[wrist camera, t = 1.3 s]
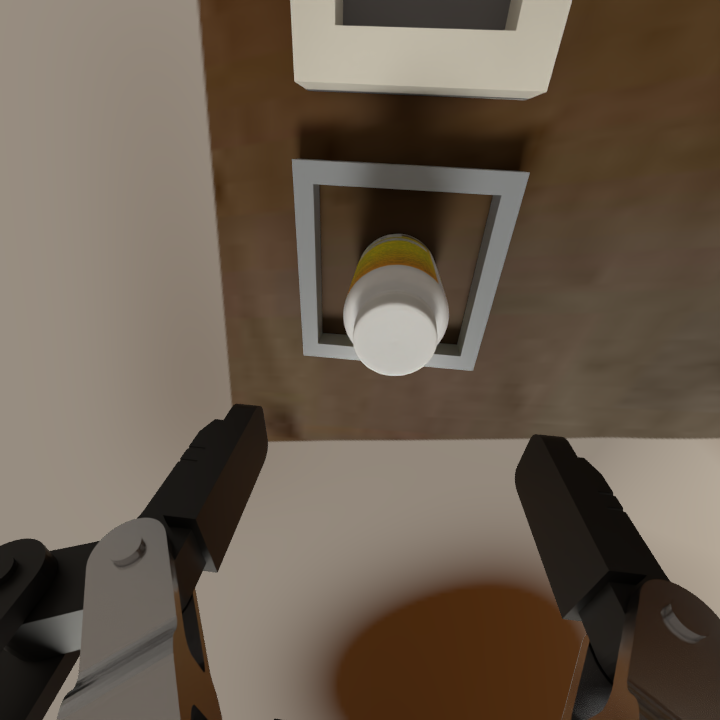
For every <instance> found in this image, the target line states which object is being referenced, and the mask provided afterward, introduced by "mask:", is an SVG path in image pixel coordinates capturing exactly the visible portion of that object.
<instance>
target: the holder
mask: <svg viewBox="0 0 720 720" xmlns="http://www.w3.org/2000/svg"><path fill="white" fill-rule="evenodd" d="M290 2H291V22H292V42H293V62H294V81H295V82H296V83H298V84H299V85H301V86H302V87H304V88H305V89H307V90H308V91H325V92H348V93H372V94H395V95H418V96H441V97H464V98H488V99H511V100H527V99H530V98H532V97H535V96H537V95H540V94H542V93H545V92H547V89H548V85H549V81H550V78H551V74H552V71H553V67H554V63H555V60H556V56H557V53H558V49H559V46H560V42H561V38H562V35H563V31H564V28H565V24H566V20H567V17H568V13H569V10H570V6H571V3H572V0H290Z"/></svg>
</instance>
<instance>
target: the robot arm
mask: <svg viewBox="0 0 720 720" xmlns="http://www.w3.org/2000/svg"><path fill="white" fill-rule="evenodd" d="M267 449H268V439H267V433H266V426H265V420H264V414H263V409H262V407H261V406H254V405H244V404H235V405H233V407H232V408H231V409H230V411H229V413H228V414H227V416H226V417H225V419H224V420H218V419H215V420H214V421H212V422H211V423H210V424H208V425H207V426H206V427H204V428H203V429H202V430H200V431H199V433H198V434H197V436H196V437H195V439H194V440H193V442H192V443H191V444H190V446H189V449H187V450H186V451H185V453H184V454H183V455H182V457H181V458H180V459H181V460H180V462H178V463H177V464H176V466H175V467H174V468H173V470H172V471H171V473H170V474H169V476H168V477H167V478H166V480H165V481H164V483H163V484H162V486H161V487H160V488H159V490H158V491H157V492H156V494H155V495H154V497H153V498H152V500H151V501H150V502H149V504H148V505H147V507H146V508H145V510H144V511H143V512H142V513H141V515H140V516H139V517H138V518H137V519H134V520H131V521H128V522H125V523H123V524H121V525H119V526H118V527H116V528H114V529H113V530H112V531H110V532H109V533H108V534H107V535H106V536H104V537H103V538H102V539H101V541H97V542H93V543H88V544H84V545H78V546H74V547H68V548H63V549H58V550H53V551H49V550H48V549H47V548H46V547H45V546H44V545H43V544H42V543H41V542H40V541H38V540H35V539H20V540H15V541H12V542H9V543H6V544H4V545H2V546H0V720H42V719H43V718H44V716H45V714H46V713H47V711H48V709H49V707H50V706H51V704H52V702H53V701H54V699H55V697H56V695H57V693H58V692H59V690H60V689H61V687H62V685H63V683H64V682H65V680H66V678H67V676H68V675H69V673H70V671H71V670H72V668H73V666H74V664H75V663H76V661H77V659H78V657H79V656H80V664H79V675H78V679H77V683H76V686H75V687H74V689H73V690H71V691H70V692H69V693H67V695H66V696H65V697H64V699H63V701H62V704H61V706H60V709H59V713H58V716H57V720H222V715H221V711H220V706H219V702H218V698H217V694H216V691H215V688H214V685H213V682H212V678H211V674H210V669H209V664H208V658H207V653H206V647H205V641H204V636H203V630H202V624H201V619H200V613H199V607H198V601H197V596H196V590H195V586H196V584H197V582H198V580H199V578H200V576H201V574H202V571H209V572H218V570H219V567H220V565H221V563H222V560H223V558H224V556H225V553H226V551H227V549H228V546H229V544H230V542H231V539H232V537H233V535H234V532H235V530H236V528H237V525H238V523H239V520H240V518H241V516H242V513H243V511H244V509H245V506H246V504H247V502H248V499H249V497H250V495H251V492H252V490H253V488H254V485H255V483H256V480H257V478H258V476H259V473H260V471H261V468H262V466H263V464H264V461H265V458H266V454H267ZM515 485H516V489H517V492H518V495H519V498H520V501H521V503H522V506H523V509H524V512H525V515H526V518H527V520H528V523H529V526H530V529H531V531H532V535H533V537H534V540H535V543H536V546H537V549H538V551H539V554H540V557H541V560H542V563H543V565H544V568H545V571H546V574H547V576H548V579H549V582H550V585H551V588H552V591H553V593H554V596H555V599H556V602H557V605H558V607H559V610H560V613H561V616H562V618H563V619H568V620H576V621H582V623H583V625H584V627H585V630H586V633H587V634H586V635H585V637H584V638H583V641H582V644H581V648H580V652H579V656H578V660H577V664H576V668H575V671H574V675H573V679H572V683H571V686H570V690H569V694H568V698H567V702H566V706H565V710H564V713H563V717H562V720H720V619H719V618H718V616H717V615H716V614H715V613H714V612H713V611H712V610H711V609H710V608H709V607H708V606H707V605H706V604H705V603H704V602H703V601H701V600H700V599H699V598H698V597H696V596H695V595H694V594H692V593H691V592H689V591H688V590H686V589H684V588H682V587H681V586H679V585H677V584H674V583H672V582H670V580H669V579H668V577H667V576H666V575H665V573H664V572H663V570H662V569H661V567H660V565H659V564H658V562H657V561H656V559H655V558H654V556H653V555H652V553H651V551H650V550H649V548H648V546H647V545H646V543H645V542H644V540H643V539H642V537H641V535H639V532H638V531H637V529H636V528H635V526H634V525H633V523H632V521H631V520H630V518H629V517H628V515H627V514H626V512H623V507H622V506H621V504H620V503H619V501H618V499H617V498H616V497H615V496H613V492H612V490H611V489H610V487H609V485H608V484H607V482H606V481H605V479H604V477H603V476H602V474H601V473H599V472H598V471H597V470H596V469H595V468H594V467H593V466H592V465H591V464H590V463H589V462H588V461H587V460H585V458H579V457H577V455H576V454H575V452H574V450H573V449H572V447H571V445H570V444H569V442H568V441H567V440H566V439H565V438H564V437H557V436H547V435H537V434H535V435H533V436H532V437H531V439H530V440H529V443H528V445H527V447H526V449H525V451H524V453H523V455H522V457H521V460H520V462H519V464H518V466H517V468H516V472H515ZM274 720H280V719H274Z"/></svg>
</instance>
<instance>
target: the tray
mask: <svg viewBox="0 0 720 720" xmlns="http://www.w3.org/2000/svg"><path fill="white" fill-rule="evenodd" d="M292 169H293V185H294V202H295V219H296V236H297V252H298V269H299V286H300V302H301V319H302V336H303V352H304V355H307V356H318V357H328V358H339V359H350V360H360V359H359V357H358V356H357V354H356V352H355V349H354V346H353V343H352V341H351V340H350V338H349V336H348V335H342V334H331V333H323V332H322V285H321V237H320V190H319V184H321V185H337V186H354V187H370V188H387V189H404V190H420V191H437V192H453V193H470V194H486V195H493V198H492V202H491V206H490V210H489V214H488V218H487V222H486V227H485V231H484V235H483V239H482V243H481V247H480V251H479V256H478V260H477V264H476V268H475V272H474V276H473V280H472V285H471V289H470V293H469V297H468V301H467V305H466V309H465V313H464V318H463V322H462V326H461V330H460V334H459V338H458V342H457V345H456V344H444V343H438V345H437V347H436V350H435V352H434V354H433V356H432V358H431V359H430V360H429V361H428V363H427V364H425V365H424V366H426V367H437V368H448V369H458V370H469V371H473V369H474V365H475V362H476V358H477V355H478V351H479V348H480V344H481V341H482V337H483V334H484V330H485V327H486V323H487V320H488V316H489V313H490V309H491V306H492V302H493V299H494V295H495V292H496V289H497V285H498V282H499V278H500V275H501V271H502V268H503V264H504V261H505V257H506V254H507V250H508V247H509V243H510V240H511V236H512V233H513V229H514V226H515V222H516V219H517V215H518V212H519V209H520V205H521V202H522V198H523V195H524V191H525V188H526V184H527V181H528V177H529V174H530V173H529V172H523V171H513V170H495V169H477V168H459V167H441V166H423V165H406V164H388V163H370V162H352V161H334V160H316V159H292Z"/></svg>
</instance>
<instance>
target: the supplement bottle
mask: <svg viewBox="0 0 720 720" xmlns="http://www.w3.org/2000/svg"><path fill="white" fill-rule="evenodd" d="M343 320H344V326H345V329H346V332H347V334H348V336H349V338H350V340H351V341H352V343H353V346H354V349H355V352H356V354H357V356H358V357H359V359H360V360H361V361H362V362H363V363H364V364H365V365H366V366H367V367H368V368H370V369H371V370H373V371H375V372H377V373H380V374H384V375H389V376H400V375H406V374H410V373H413V372H415V371H417V370H419V369H420V368H422V367H423V366H424V365H425V364H427V363H428V361H429V360H430V359H431V358H432V356H433V354H434V352H435V350H436V347H437V345H438V343H439V342H440V341H441V339H442V338H443V336H444V334H445V331H446V329H447V325H448V320H449V307H448V301H447V298H446V294H445V291H444V288H443V285H442V282H441V279H440V276H439V273H438V270H437V267H436V264H435V261H434V258H433V256H432V254H431V252H430V251H429V249H428V248H427V247H426V246H425V245H424V244H423V243H422V242H421V241H419V240H418V239H416V238H414V237H411V236H409V235H405V234H390V235H386V236H383V237H381V238H379V239H377V240H375V241H374V242H373V243H371V244H370V245H369V246H368V247H367V248H366V250H365V251H364V253H363V254H362V256H361V258H360V260H359V263H358V265H357V269H356V271H355V274H354V277H353V280H352V283H351V286H350V289H349V292H348V295H347V297H346V301H345V305H344V311H343Z"/></svg>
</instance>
